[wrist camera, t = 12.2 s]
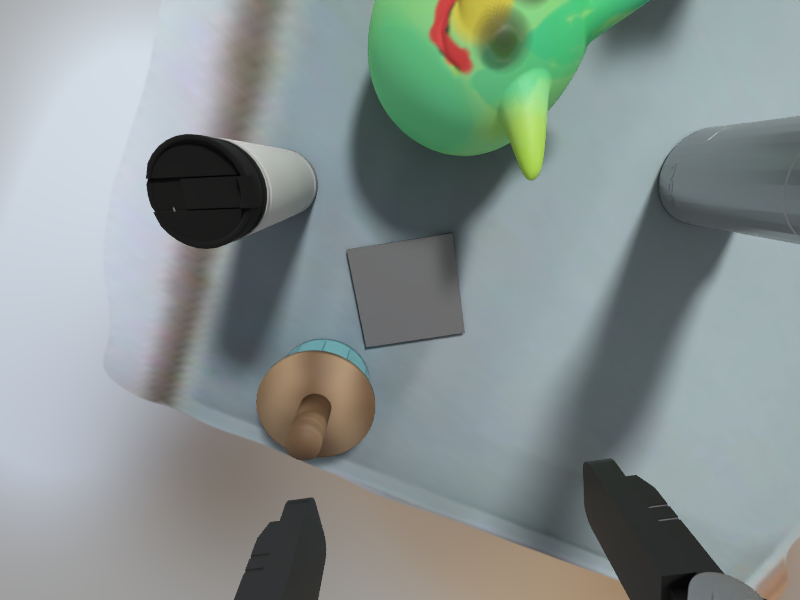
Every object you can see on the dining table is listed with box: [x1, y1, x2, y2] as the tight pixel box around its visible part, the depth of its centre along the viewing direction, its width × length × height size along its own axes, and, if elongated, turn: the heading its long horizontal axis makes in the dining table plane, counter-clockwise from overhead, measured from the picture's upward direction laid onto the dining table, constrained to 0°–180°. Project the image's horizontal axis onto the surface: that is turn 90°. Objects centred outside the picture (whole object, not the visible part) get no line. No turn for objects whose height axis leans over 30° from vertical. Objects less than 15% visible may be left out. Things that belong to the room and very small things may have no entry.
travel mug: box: [146, 134, 318, 249], centre depth 32 cm, size 6×7×20 cm
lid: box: [256, 350, 375, 460], centre depth 40 cm, size 12×12×7 cm
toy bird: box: [368, 0, 650, 180], centre depth 31 cm, size 18×17×15 cm
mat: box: [347, 233, 465, 347], centre depth 45 cm, size 11×11×1 cm
